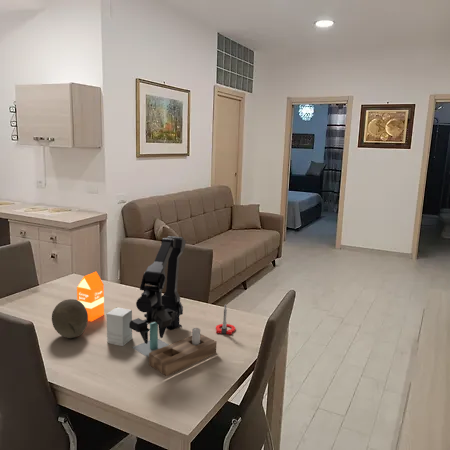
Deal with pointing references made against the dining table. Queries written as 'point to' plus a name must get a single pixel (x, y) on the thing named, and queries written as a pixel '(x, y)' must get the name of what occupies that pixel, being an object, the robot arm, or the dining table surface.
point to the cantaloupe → (70, 318)
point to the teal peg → (153, 336)
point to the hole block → (181, 354)
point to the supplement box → (119, 326)
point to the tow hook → (225, 325)
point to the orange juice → (92, 295)
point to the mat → (148, 347)
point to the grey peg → (195, 336)
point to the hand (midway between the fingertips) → (153, 340)
